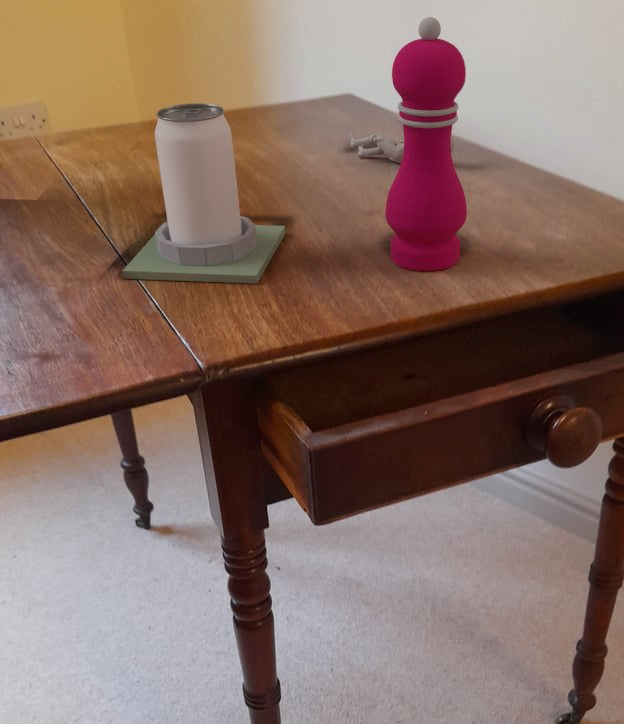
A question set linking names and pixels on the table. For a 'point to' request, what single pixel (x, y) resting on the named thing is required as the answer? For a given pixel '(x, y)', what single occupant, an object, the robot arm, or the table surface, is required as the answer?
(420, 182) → the pepper mill
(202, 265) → the dock pad
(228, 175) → the can
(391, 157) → the soldier figure
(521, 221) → the table surface
